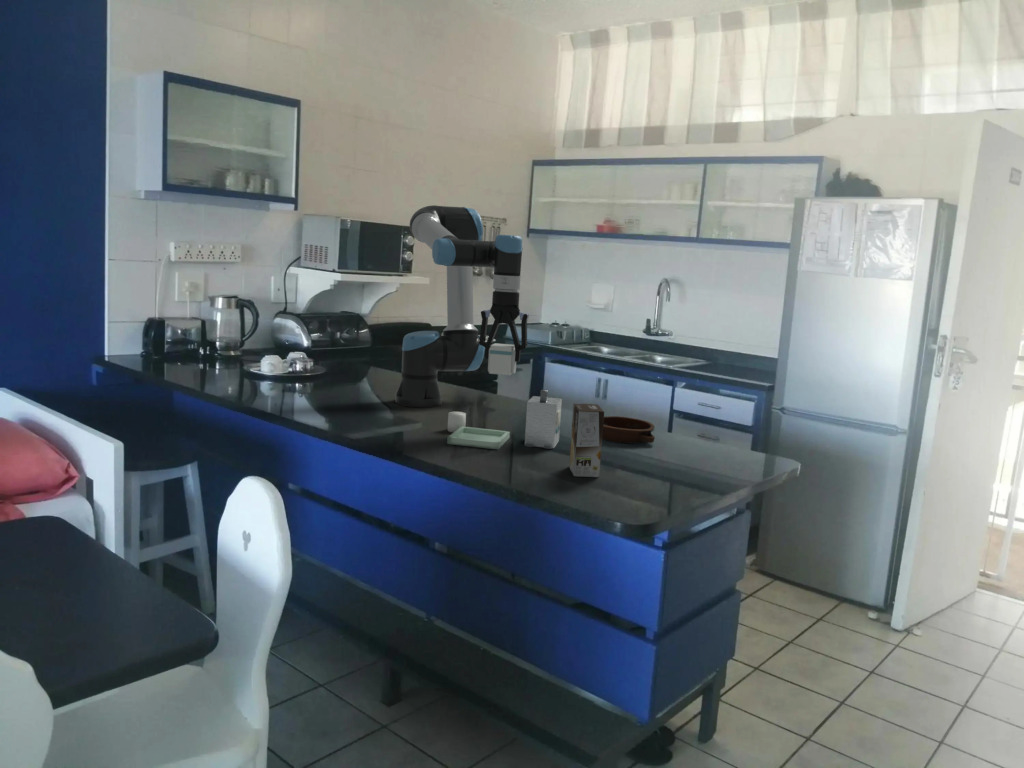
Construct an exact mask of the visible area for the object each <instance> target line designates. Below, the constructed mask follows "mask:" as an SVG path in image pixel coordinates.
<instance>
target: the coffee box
mask: <svg viewBox="0 0 1024 768" xmlns="http://www.w3.org/2000/svg"><path fill="white" fill-rule="evenodd" d="M604 417H605V411H604V410H603V409H602V407H600V405H599V404H593V403H573V405H572V418H571V419H572V421H571V434H570V435H571V436H570V447H569V448H570V450H569V463H568V464H569V465H568V467H569V469H570V471H571V473H572V475H573V477H583V478H584V477H585V478H587V477H588V478H599V477H600V471H601V469H600V468H601V459H602V458H601V457H602V444H603V443H602V442H603V439H602V434H603V422H604Z"/></svg>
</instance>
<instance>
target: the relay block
mask: <svg viewBox="0 0 1024 768" xmlns="http://www.w3.org/2000/svg"><path fill="white" fill-rule="evenodd" d="M513 350H515V346H514V344H510V343H509V344H508V343H492V345H491V349H490V367H489V371H488V374H489V375H490V374H491V375H501V376H503V375H504V376H511V375H512V374H513V373H511V369H512V352H513Z"/></svg>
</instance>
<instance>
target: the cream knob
mask: <svg viewBox="0 0 1024 768" xmlns="http://www.w3.org/2000/svg"><path fill="white" fill-rule="evenodd" d="M466 418H467V413H466V412H463V411H450V412H448V413H447V431H448V432H449V433H454V432H455V431H456V430H458V429H459V428H460V427H466V423H467V422H466V421H467V419H466Z"/></svg>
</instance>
